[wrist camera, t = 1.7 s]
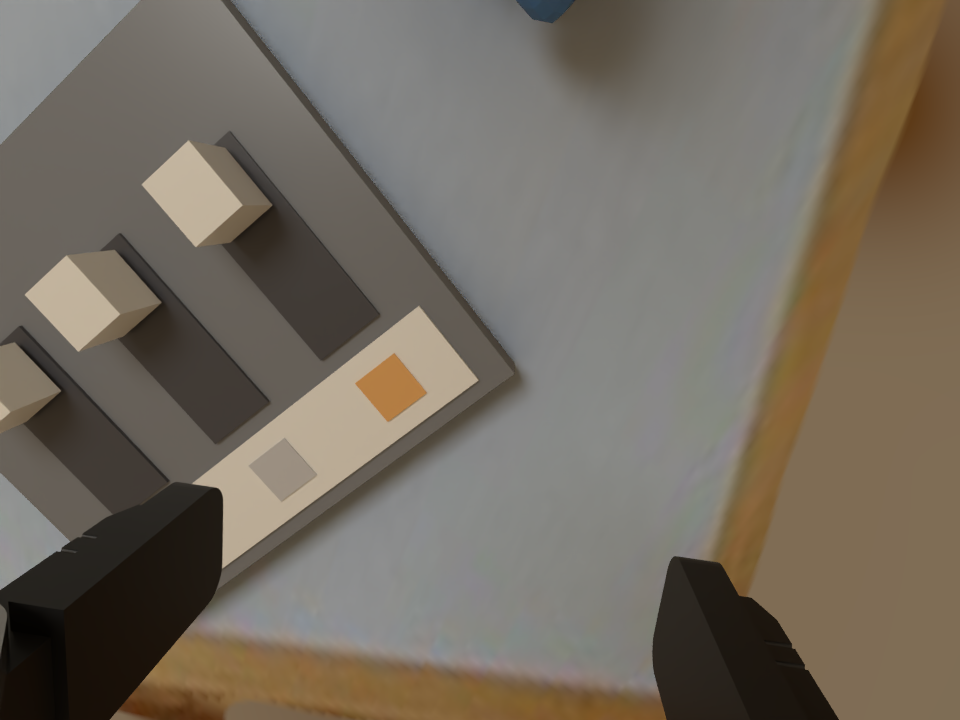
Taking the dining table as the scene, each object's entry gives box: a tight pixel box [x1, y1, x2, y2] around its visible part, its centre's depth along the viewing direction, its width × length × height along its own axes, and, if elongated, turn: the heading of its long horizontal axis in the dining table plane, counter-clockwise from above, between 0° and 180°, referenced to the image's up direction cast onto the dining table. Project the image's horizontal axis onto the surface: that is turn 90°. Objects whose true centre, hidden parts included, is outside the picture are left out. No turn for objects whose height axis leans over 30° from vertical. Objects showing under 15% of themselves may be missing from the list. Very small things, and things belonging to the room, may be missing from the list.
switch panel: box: [0, 0, 515, 590], centre depth 29 cm, size 22×24×2 cm
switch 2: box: [25, 250, 162, 352], centre depth 26 cm, size 3×3×3 cm
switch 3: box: [142, 140, 272, 247], centre depth 24 cm, size 3×3×3 cm
